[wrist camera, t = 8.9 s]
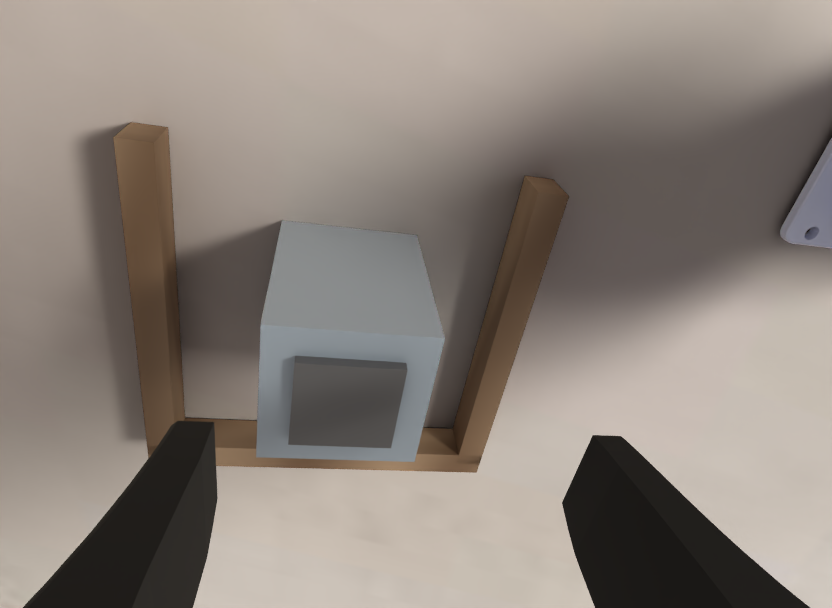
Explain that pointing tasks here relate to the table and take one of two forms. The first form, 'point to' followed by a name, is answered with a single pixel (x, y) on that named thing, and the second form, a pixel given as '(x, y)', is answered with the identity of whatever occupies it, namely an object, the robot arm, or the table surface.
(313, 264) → the block
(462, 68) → the table surface
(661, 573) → the robot arm
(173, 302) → the bay
